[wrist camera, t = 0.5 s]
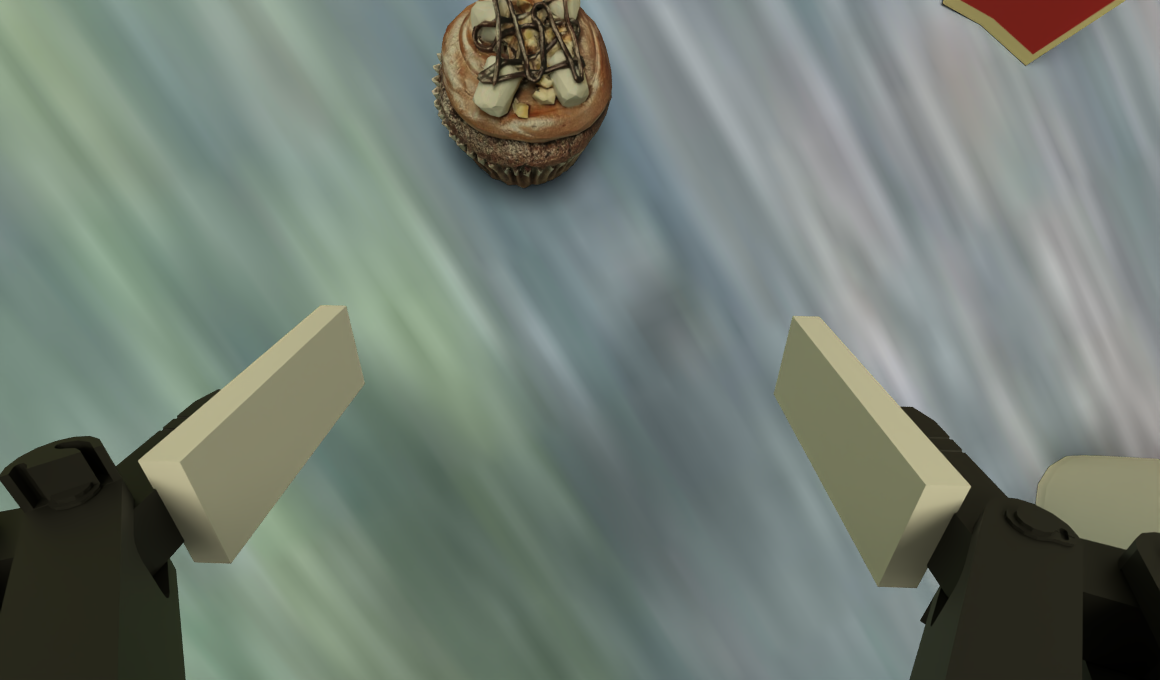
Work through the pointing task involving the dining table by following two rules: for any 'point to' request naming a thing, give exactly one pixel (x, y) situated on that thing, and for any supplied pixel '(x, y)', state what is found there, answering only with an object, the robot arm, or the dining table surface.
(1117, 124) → the dining table surface
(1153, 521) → the foam cup
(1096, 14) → the milk carton
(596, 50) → the cupcake
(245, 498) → the robot arm
